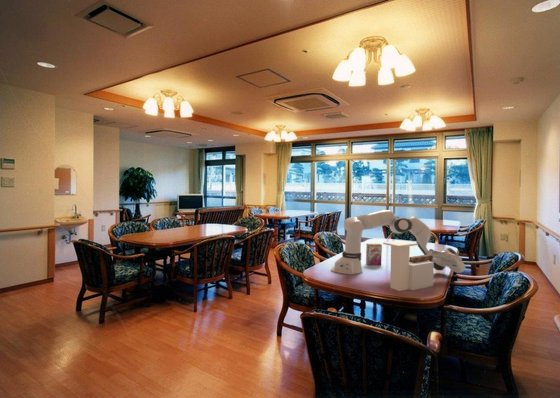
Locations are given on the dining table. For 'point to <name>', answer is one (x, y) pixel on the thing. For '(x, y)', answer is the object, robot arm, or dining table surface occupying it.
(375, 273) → the dining table surface
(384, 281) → the dining table surface
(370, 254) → the candy bar box
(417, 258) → the walnut bar
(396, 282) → the stepped stand
